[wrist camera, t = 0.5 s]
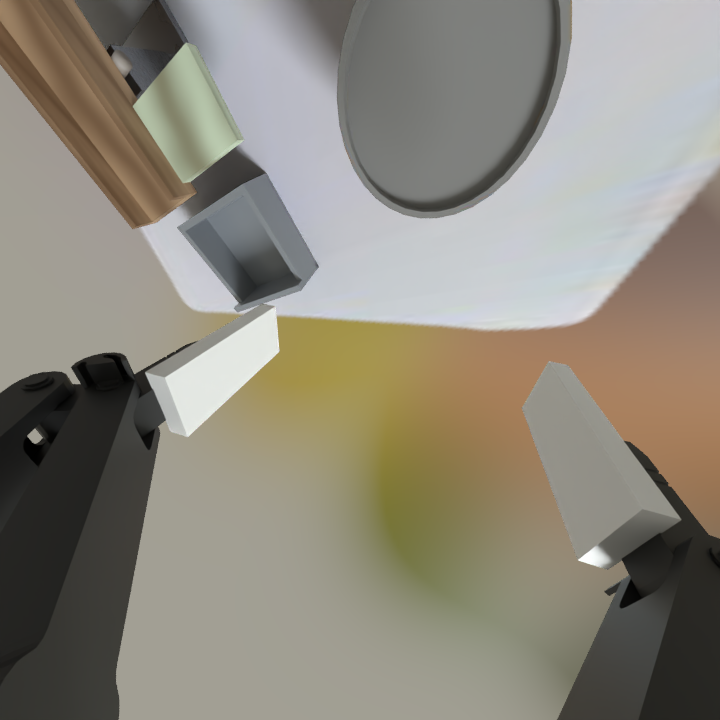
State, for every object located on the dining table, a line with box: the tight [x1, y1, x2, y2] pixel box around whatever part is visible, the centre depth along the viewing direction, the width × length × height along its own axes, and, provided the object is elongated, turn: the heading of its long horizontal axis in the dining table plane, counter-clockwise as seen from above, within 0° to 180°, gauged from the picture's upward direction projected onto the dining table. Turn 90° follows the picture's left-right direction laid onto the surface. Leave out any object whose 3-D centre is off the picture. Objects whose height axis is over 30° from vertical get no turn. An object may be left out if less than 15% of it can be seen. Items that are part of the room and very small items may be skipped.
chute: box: [0, 0, 244, 229], centre depth 20 cm, size 17×24×5 cm
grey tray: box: [177, 173, 319, 312], centre depth 38 cm, size 13×13×7 cm
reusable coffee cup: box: [337, 0, 572, 218], centre depth 20 cm, size 13×12×15 cm
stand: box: [107, 0, 188, 99], centre depth 27 cm, size 12×8×7 cm, turn 116°
